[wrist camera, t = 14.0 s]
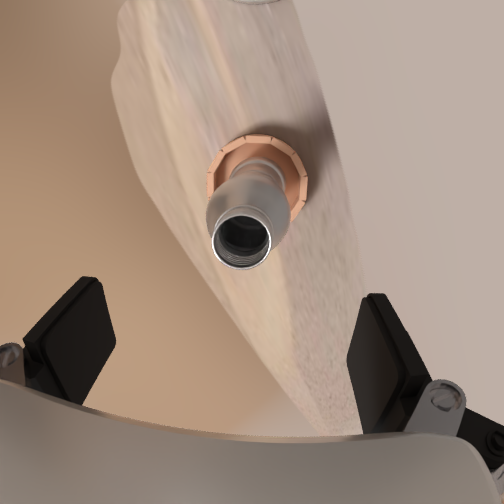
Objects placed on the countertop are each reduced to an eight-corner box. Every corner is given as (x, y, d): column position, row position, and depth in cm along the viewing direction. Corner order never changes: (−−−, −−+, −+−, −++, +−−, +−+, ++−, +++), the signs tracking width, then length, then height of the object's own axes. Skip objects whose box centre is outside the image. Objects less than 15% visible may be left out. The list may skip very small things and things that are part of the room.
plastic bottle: (296, 179, 36) (321, 238, 18) (258, 218, 38) (244, 308, 20) (256, 143, 34) (238, 162, 16) (219, 183, 37) (167, 246, 18)
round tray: (210, 133, 35) (205, 133, 32) (308, 136, 35) (311, 137, 32) (210, 225, 40) (205, 233, 37) (302, 229, 40) (304, 237, 37)
